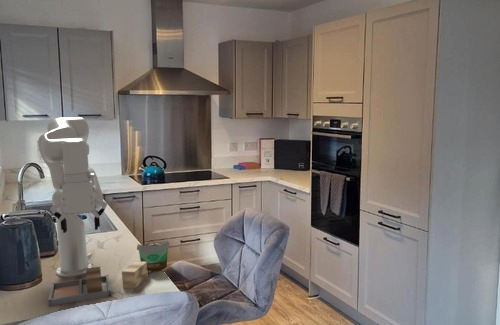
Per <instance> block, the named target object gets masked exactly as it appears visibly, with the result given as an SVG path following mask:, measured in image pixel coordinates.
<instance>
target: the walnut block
mask: <svg viewBox="0 0 500 325" xmlns="http://www.w3.org/2000/svg"><path fill="white" fill-rule="evenodd" d="M101 276H102V273H101V266H92V268H86V273H85V278H86V281H87V293H93V292H99V291H102V283H101Z"/></svg>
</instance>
